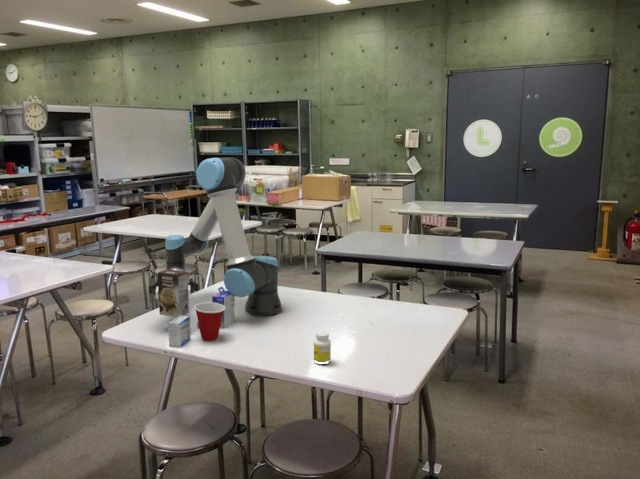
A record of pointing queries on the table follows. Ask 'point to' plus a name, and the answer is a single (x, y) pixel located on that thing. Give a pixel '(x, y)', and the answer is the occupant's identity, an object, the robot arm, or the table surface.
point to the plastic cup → (209, 319)
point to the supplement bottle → (322, 347)
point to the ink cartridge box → (229, 303)
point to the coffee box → (173, 293)
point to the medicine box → (179, 331)
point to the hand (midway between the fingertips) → (173, 294)
